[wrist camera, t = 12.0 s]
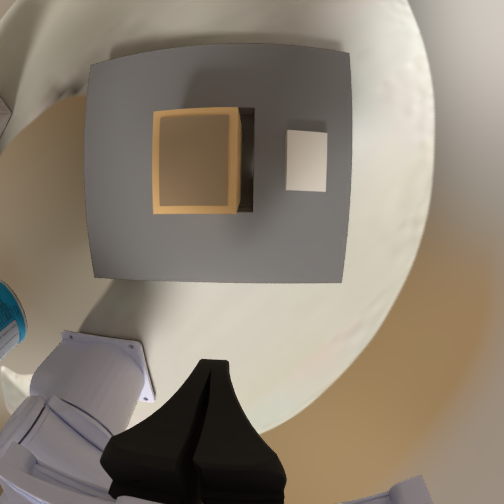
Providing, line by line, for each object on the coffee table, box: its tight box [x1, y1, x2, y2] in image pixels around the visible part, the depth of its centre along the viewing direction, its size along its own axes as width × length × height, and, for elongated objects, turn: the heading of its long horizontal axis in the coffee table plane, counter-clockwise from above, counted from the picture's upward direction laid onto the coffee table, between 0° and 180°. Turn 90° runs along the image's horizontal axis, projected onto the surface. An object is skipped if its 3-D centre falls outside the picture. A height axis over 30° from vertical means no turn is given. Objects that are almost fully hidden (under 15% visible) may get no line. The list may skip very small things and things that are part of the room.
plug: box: [152, 107, 242, 214], centre depth 15 cm, size 4×5×7 cm
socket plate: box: [84, 43, 352, 283], centre depth 17 cm, size 18×16×3 cm
